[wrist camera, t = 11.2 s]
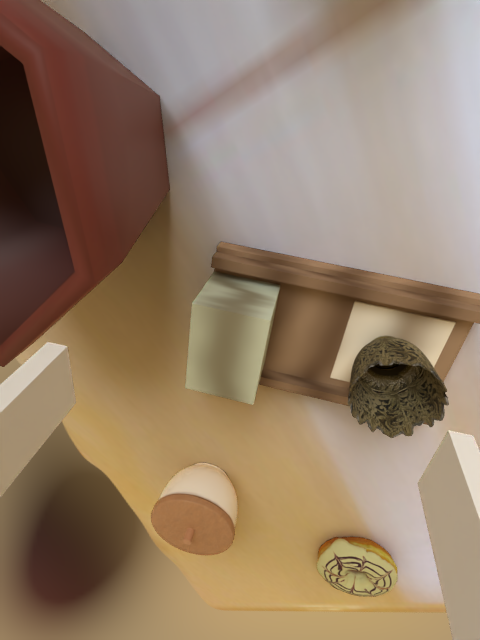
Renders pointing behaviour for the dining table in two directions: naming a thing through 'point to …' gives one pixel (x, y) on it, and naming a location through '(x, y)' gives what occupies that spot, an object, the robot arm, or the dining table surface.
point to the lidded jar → (197, 510)
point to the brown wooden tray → (310, 324)
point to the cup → (395, 387)
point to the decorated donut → (357, 566)
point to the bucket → (67, 168)
